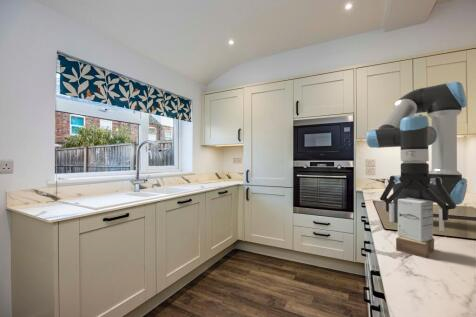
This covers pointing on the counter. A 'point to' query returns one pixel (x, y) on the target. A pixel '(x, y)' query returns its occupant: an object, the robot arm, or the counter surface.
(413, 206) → the supplement box
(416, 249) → the brown wooden block
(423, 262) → the counter surface
